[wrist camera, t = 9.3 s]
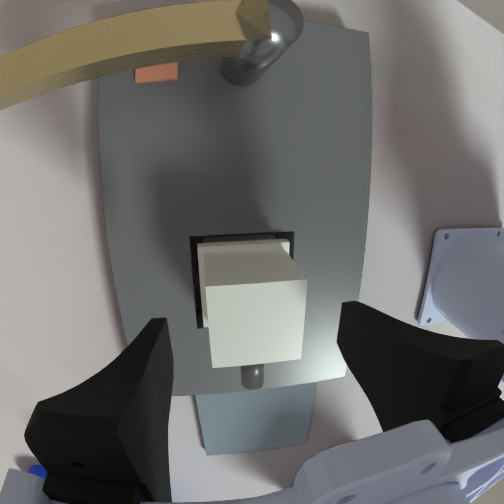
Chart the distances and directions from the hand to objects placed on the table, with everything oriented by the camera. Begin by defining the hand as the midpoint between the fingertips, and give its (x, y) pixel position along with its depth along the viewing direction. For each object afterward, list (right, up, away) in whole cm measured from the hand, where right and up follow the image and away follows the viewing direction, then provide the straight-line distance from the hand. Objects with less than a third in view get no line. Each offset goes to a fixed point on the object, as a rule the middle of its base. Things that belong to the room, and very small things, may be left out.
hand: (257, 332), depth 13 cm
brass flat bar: (-7, +11, 0) cm, 13 cm away
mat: (0, -10, +11) cm, 15 cm away
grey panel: (-1, +5, +5) cm, 8 cm away
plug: (-1, +1, +7) cm, 7 cm away
